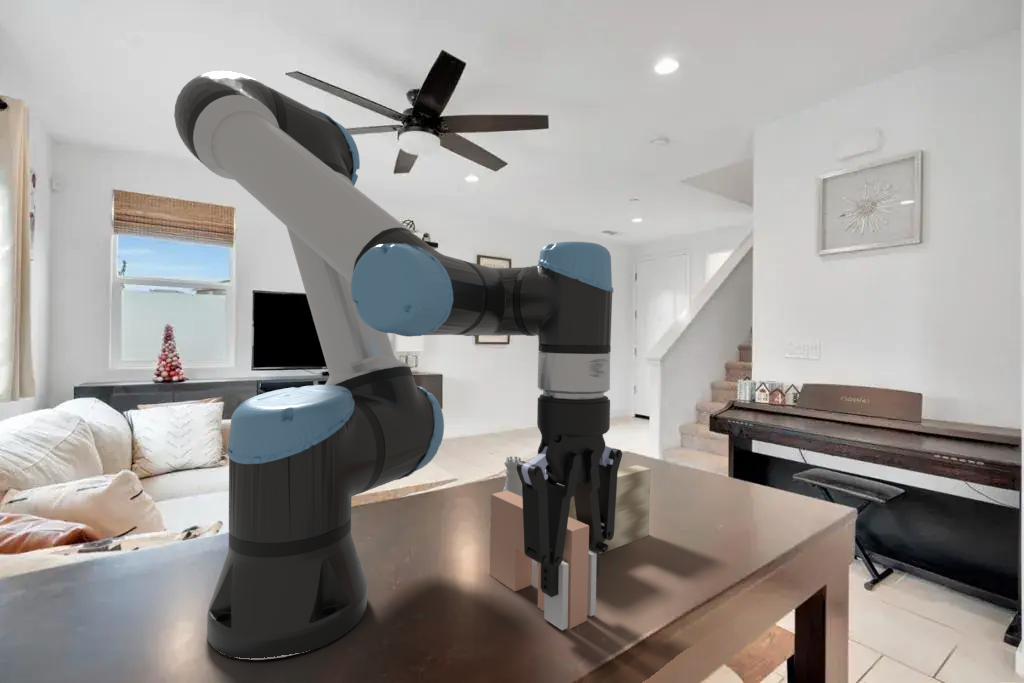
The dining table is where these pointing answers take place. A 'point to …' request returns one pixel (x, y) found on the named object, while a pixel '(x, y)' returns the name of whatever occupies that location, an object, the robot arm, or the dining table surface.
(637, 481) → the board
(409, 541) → the dining table surface
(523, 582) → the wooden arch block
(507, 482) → the rook chess piece
